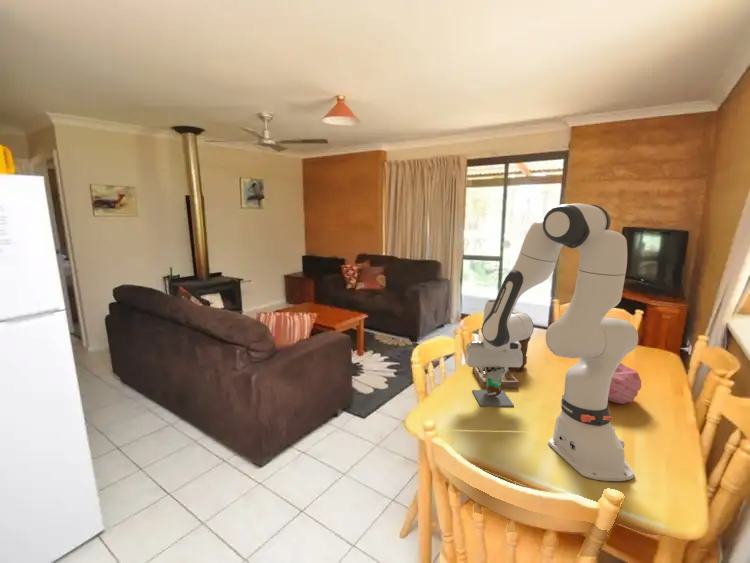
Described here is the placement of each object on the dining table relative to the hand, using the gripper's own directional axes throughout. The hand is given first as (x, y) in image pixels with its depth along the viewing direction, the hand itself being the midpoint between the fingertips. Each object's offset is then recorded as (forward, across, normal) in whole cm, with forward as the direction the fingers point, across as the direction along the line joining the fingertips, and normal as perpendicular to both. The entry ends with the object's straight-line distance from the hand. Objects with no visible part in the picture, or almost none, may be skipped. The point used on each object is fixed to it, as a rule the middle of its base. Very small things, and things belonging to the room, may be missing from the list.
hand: (492, 377), depth 135 cm
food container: (+6, +1, 0) cm, 6 cm away
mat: (+8, 0, 0) cm, 9 cm away
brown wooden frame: (+9, +6, +17) cm, 20 cm away
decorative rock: (+9, +45, -1) cm, 46 cm away
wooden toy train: (+9, +15, +32) cm, 36 cm away
